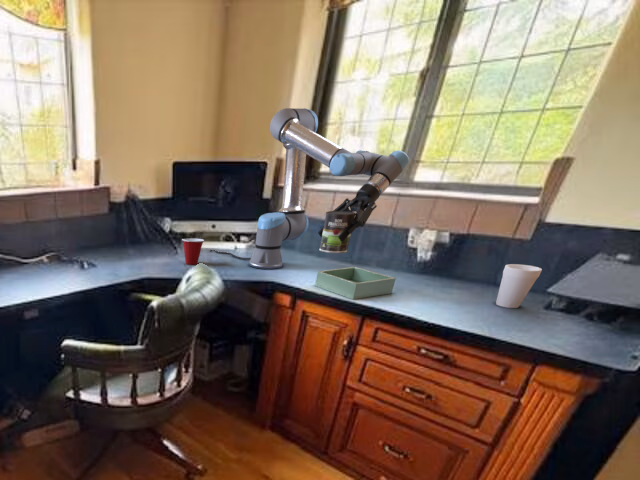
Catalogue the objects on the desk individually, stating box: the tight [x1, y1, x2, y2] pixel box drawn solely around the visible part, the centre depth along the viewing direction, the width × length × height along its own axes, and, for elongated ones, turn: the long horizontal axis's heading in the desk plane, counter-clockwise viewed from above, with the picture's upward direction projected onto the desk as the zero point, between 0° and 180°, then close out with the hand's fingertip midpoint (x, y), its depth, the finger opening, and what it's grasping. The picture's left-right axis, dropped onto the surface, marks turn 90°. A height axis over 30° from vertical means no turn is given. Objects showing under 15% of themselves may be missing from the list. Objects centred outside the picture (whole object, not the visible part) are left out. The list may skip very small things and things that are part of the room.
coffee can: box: [318, 210, 356, 254], centre depth 162 cm, size 10×10×14 cm
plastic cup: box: [181, 237, 205, 266], centre depth 208 cm, size 11×11×12 cm
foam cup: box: [495, 263, 543, 309], centre depth 143 cm, size 10×9×13 cm
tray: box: [314, 266, 397, 300], centre depth 165 cm, size 20×19×6 cm
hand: (329, 237), depth 162 cm, fingers closed on coffee can, 10 cm apart
